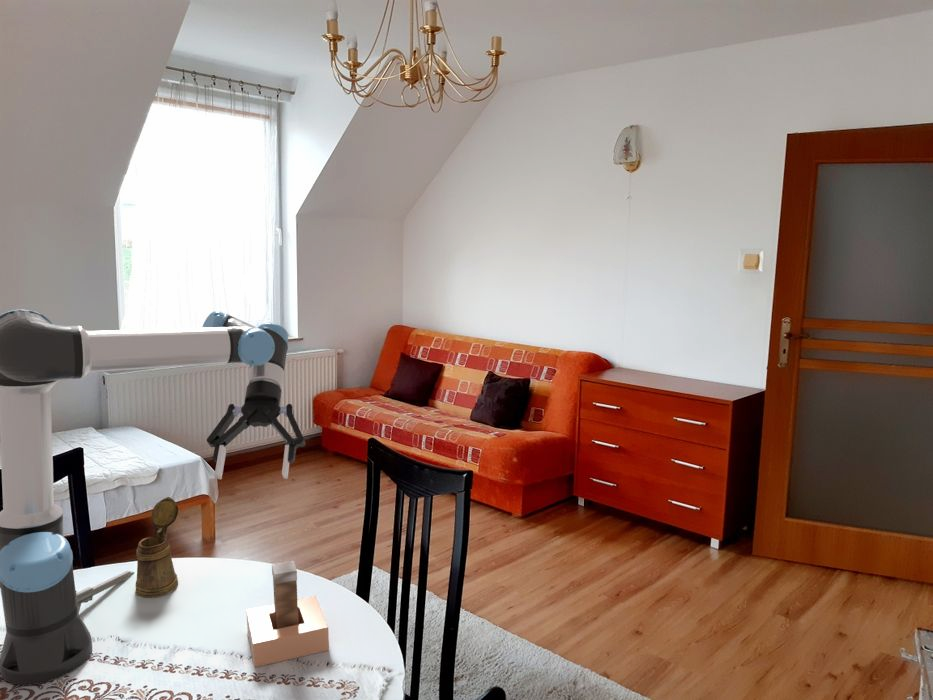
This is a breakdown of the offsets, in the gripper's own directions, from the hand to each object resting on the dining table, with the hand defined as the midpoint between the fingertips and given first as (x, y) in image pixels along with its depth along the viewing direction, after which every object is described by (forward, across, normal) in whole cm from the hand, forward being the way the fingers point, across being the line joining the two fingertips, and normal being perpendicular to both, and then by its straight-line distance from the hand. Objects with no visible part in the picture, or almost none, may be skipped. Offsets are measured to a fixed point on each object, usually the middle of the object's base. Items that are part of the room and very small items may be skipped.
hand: (251, 476), depth 147 cm
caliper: (+18, +35, -25) cm, 47 cm away
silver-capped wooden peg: (+30, -9, -12) cm, 33 cm away
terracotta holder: (+30, -9, -12) cm, 33 cm away
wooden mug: (+14, +24, -29) cm, 40 cm away
